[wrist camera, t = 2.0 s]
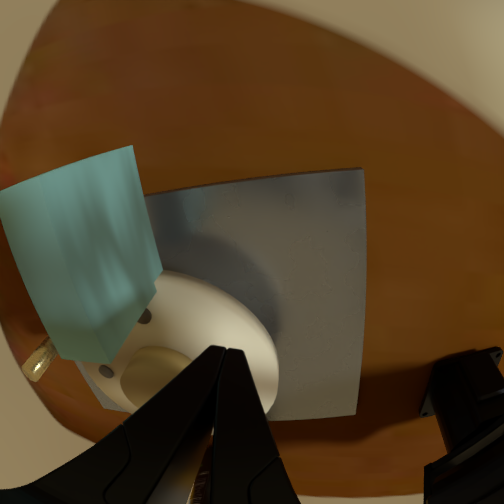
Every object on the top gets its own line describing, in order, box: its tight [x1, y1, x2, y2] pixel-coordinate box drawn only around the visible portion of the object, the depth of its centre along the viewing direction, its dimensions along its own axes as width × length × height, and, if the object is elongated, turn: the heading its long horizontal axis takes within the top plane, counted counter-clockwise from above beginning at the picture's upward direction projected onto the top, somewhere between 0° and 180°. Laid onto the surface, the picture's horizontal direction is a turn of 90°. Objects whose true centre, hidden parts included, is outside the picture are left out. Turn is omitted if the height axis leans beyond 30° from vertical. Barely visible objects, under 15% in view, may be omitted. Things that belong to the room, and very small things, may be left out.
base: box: [22, 167, 366, 421], centre depth 17 cm, size 18×22×6 cm
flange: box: [0, 145, 279, 435], centre depth 13 cm, size 18×12×6 cm
